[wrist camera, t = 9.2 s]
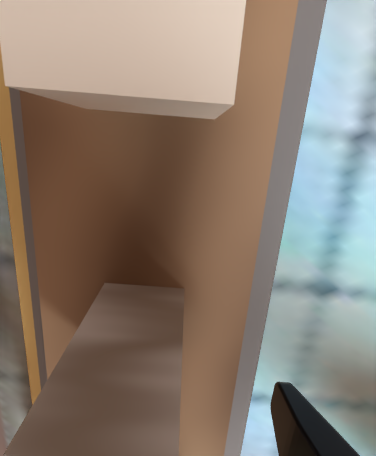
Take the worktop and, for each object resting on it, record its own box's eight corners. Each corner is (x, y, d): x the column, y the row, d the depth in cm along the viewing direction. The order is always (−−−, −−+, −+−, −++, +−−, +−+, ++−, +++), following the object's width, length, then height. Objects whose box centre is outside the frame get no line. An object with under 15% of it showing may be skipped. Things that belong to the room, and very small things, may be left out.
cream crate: (230, -40, 8) (272, -221, 4) (214, 119, 9) (233, 104, 5) (81, -54, 7) (-33, -253, 4) (86, 108, 9) (4, 85, 5)
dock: (310, -48, 12) (346, -104, 9) (227, 444, 21) (233, 491, 19) (19, -75, 12) (-34, -141, 9) (61, 433, 21) (41, 479, 18)
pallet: (277, -19, 10) (760, -886, 2) (208, 463, 18) (226, 767, 9) (54, -39, 10) (-770, -1116, 1) (81, 455, 18) (-21, 756, 9)
